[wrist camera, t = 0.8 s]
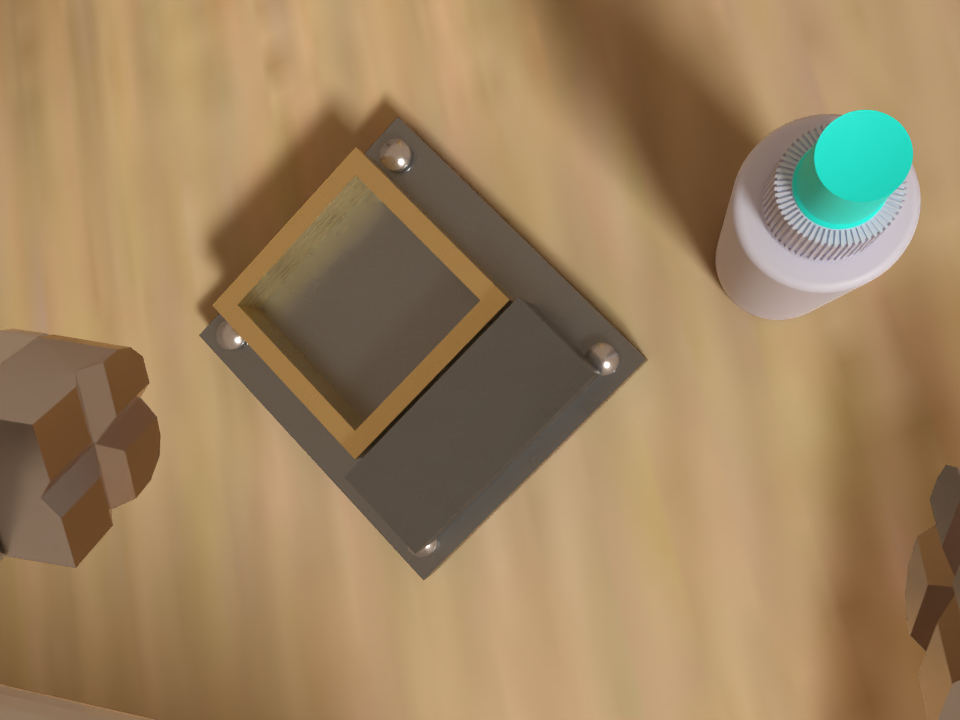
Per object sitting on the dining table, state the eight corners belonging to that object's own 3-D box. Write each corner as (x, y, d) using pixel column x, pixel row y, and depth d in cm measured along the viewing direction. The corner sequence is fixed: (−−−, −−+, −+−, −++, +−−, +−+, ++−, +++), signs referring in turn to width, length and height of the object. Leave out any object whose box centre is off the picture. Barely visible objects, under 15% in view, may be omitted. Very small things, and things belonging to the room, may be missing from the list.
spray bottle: (689, 265, 47) (697, 169, 25) (774, 174, 46) (856, -4, 24) (780, 345, 46) (870, 317, 24) (869, 254, 45) (1042, 142, 23)
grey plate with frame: (433, 572, 49) (400, 598, 43) (217, 337, 52) (158, 331, 46) (647, 360, 47) (643, 357, 41) (409, 127, 50) (373, 93, 44)
